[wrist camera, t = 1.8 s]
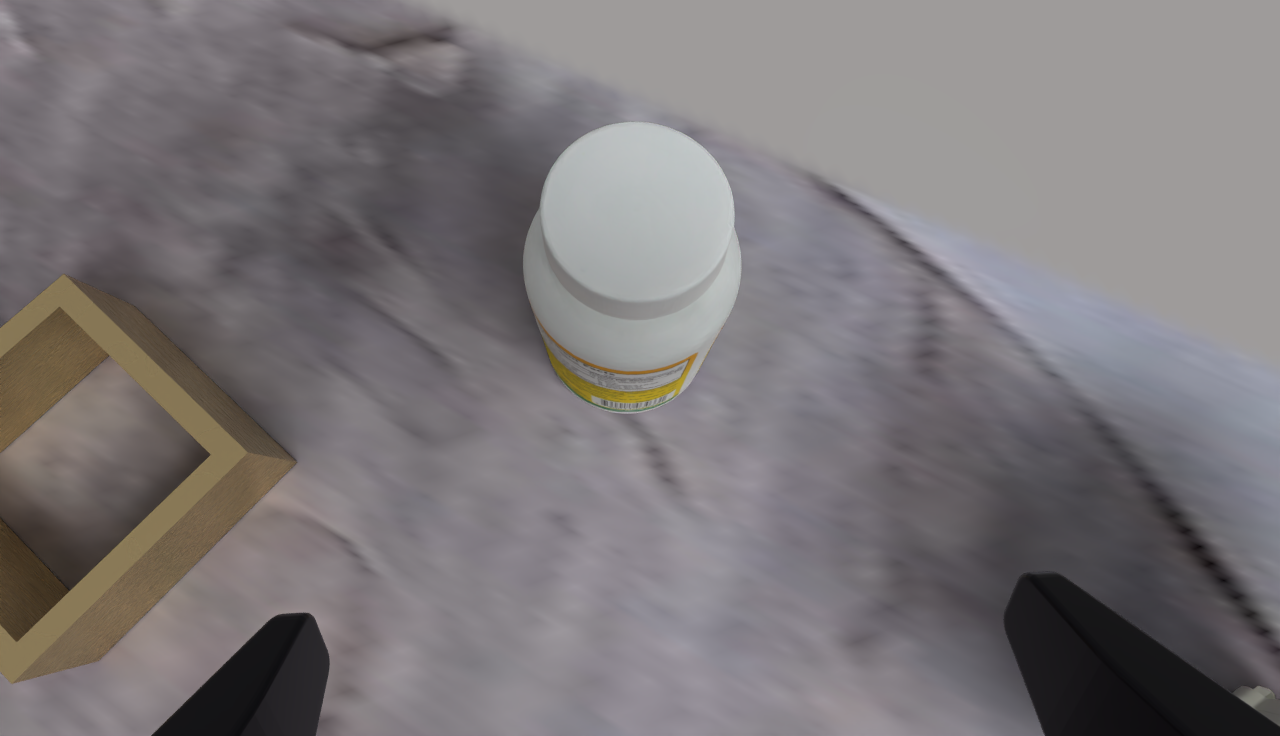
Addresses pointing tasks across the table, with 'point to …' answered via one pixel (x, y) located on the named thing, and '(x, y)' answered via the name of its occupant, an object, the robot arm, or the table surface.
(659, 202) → the supplement bottle
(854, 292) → the table surface
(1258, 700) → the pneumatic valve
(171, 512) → the wooden box with ramps
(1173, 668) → the robot arm
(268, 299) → the table surface
